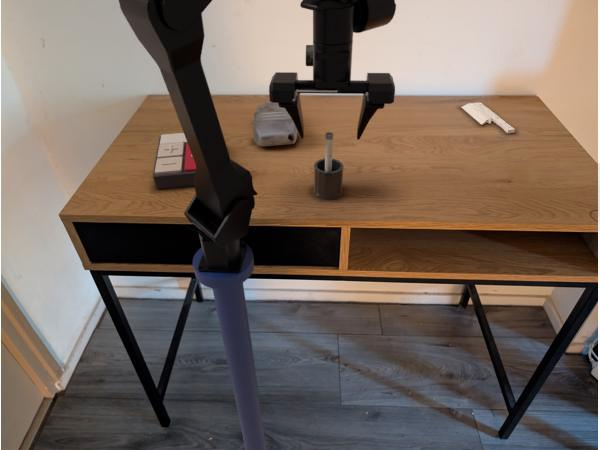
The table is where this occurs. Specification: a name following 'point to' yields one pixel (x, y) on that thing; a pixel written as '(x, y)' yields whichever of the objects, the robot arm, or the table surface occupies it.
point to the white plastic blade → (486, 116)
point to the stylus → (328, 152)
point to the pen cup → (328, 180)
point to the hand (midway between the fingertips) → (330, 138)
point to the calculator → (173, 162)
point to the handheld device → (273, 125)
